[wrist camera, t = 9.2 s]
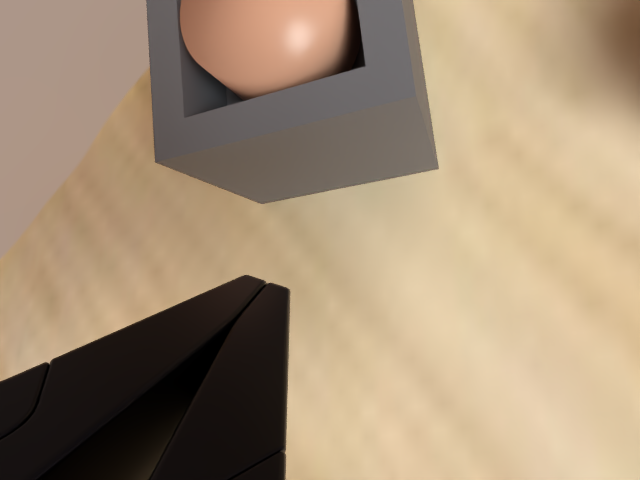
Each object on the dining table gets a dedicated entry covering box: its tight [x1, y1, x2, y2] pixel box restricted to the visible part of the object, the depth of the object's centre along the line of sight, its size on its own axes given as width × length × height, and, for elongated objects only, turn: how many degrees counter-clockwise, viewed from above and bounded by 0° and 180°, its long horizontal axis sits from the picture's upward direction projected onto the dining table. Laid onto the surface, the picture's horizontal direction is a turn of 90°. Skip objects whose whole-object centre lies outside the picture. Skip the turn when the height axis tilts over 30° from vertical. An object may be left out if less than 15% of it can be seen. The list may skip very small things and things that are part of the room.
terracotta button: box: [180, 0, 361, 101], centre depth 15 cm, size 6×6×3 cm
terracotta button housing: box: [146, 0, 439, 204], centre depth 18 cm, size 9×9×8 cm
